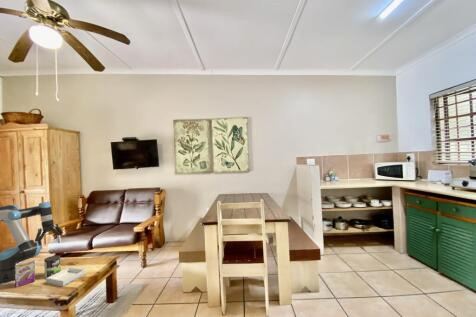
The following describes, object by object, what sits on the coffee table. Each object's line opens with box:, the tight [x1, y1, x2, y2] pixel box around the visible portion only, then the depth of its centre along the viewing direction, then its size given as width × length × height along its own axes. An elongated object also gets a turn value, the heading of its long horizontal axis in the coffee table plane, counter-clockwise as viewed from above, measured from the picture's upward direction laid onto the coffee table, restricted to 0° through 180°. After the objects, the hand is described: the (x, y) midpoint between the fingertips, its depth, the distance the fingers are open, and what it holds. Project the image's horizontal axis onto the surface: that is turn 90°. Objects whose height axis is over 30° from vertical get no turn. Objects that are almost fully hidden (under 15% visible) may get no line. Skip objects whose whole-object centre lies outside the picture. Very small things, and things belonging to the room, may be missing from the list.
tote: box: [45, 266, 87, 287], centre depth 180 cm, size 18×18×4 cm
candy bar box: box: [14, 259, 36, 288], centre depth 174 cm, size 11×5×16 cm, turn 131°
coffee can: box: [43, 254, 61, 279], centre depth 186 cm, size 10×10×14 cm
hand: (51, 245), depth 187 cm, fingers open, 13 cm apart
